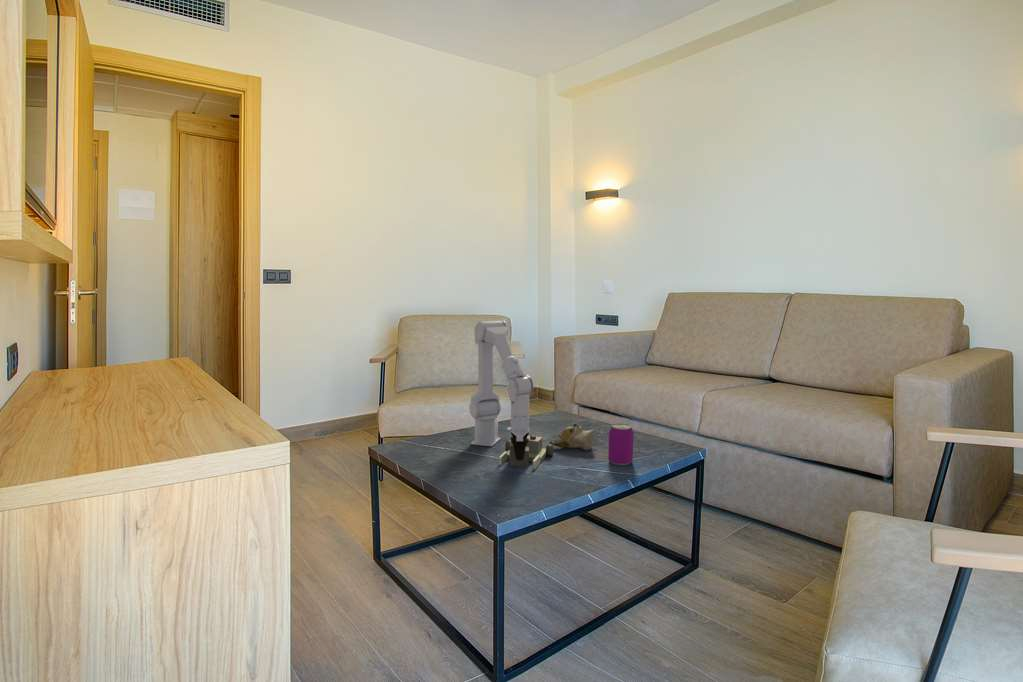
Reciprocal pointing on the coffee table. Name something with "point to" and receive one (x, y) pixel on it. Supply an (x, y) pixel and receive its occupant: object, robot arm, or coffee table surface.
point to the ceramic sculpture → (575, 438)
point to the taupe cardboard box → (518, 462)
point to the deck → (530, 451)
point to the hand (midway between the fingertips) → (519, 456)
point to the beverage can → (621, 444)
